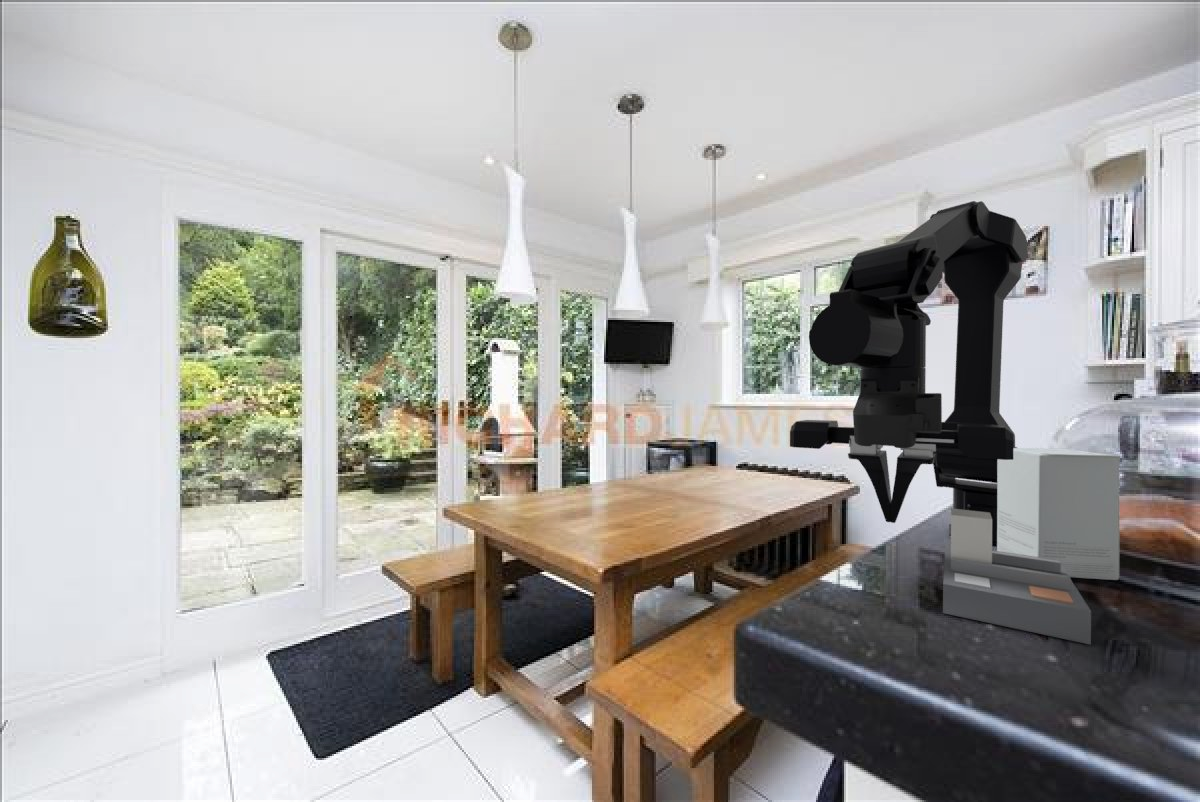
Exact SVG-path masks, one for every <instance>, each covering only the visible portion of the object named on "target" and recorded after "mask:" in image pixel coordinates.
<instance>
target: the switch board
mask: <svg viewBox="0 0 1200 802" xmlns="http://www.w3.org/2000/svg"><path fill="white" fill-rule="evenodd" d="M943 565H944V566H943V580H942V581H943V582H942V583H943V584H942V589H943V590H942V614H946V615H950V616H955V617H960V618H964V619H969V620H974V621H979V622H983V623H989V624H992V625H997V626H1000V627H1001V626H1002V627H1006V628H1007V627H1008V628H1011V629H1015V630H1020V631H1025V632H1030V633H1034V634H1040V635H1044V636H1048V637H1053V638H1058V639H1063V640H1066V641H1072V642H1076V643H1081V644H1082V643H1083V644H1086V645H1090V646H1091V645H1092V610H1091V609H1090V607H1089V605H1088V604H1087V602H1086V601H1085V599H1084V598H1083V596H1082V594H1081V593H1080V591H1079V590H1078V588H1077V587H1076V586H1075V584H1074V583H1073V580H1072V579H1071V578H1072V577H1069V576H1068V574H1067V573H1066V571H1065V569H1064V568H1063V566H1062V565H1061V563H1060V561H1059V560H1056V559H1049V558H1042V557H1035V556H1028V555H1021V554H1014V553H1008V552H1001V551H997V550H993V549H992V564H989V563H983V562H977V561H970V560H964V559H958V558H951V543H945V545H944V564H943Z"/></svg>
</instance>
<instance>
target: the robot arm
mask: <svg viewBox="0 0 1200 802" xmlns="http://www.w3.org/2000/svg"><path fill="white" fill-rule="evenodd" d="M1028 249H1029V246H1028V240H1027V236H1026V234H1025V232H1024V230H1023V229H1022V227H1021V225H1019V223H1018V221H1017V220H1016V219H1015V218H1014V217H1010V216H1007V215H1004V214H1001V213H997V212H994V211H991V210H989V208H988V207H987V206H986V204H985V202H983V201H982V200H981V201H975V200H973V201H969V202H965V203H962V204H958V205H953V206H950V207H947V208H942V209H939V210H937V211H936V213H934V214H933V213H932V214H931V216H930V218H929V219H928V220H927V221H926V220H925V222H924V223H922V224H921V225H920V226H917V228H915V229H914V230H913V231H911V232H910V233H908V234H907V235H905V236H904V237H903V238H901V239H900V240H899V241H896V242H894V243H889V244H887V245H882V246H879V247H875V248H870V249H868V250H864V251H861V252H858V253H857V254H856V255H855V256H854V257H853V259H852V260H851V262H850V266H849V268H848V270H847V272H846V274H845V276H844V279H843V281H842V283H841V285H840V287H839V289H838V291H832V292H830V294H829V305H828V306H826V307H825V308H824V309H822V310H821V311H820V312H819V313H818V314H817V316H816V317H815V319H814V320H813V322H812V325H811V327H810V328H811V329H810V330H809V331H808V332H809V333H808V341H809V342H808V343H809V346H810V349H811V351H812V353H813V354H814V355H815V357H816V358H817V359H818V360H820V361H821V362H823V363H825V364H827V365H832V366H840V367H853V368H854V367H856V368H857V367H858V368H859V369H860V370H859V374H860V375H859V394H858V397H857V400H856V403H855V406H854V408H853V409H852V410H853V411H852V417H853V418H852V419H853V420H852V421H853V426H849V427H848V426H839V423H838V420H829V419H827V420H825V419H823V420H822V419H821V420H820V419H804V420H802V419H801V420H798V421H795V422H794V423H793V424H792V425H791V427H790V431H789V447H791V448H799V449H800V448H801V449H814V450H815V449H816V450H820V449H821V448H822V447H824V446H825V445H832V444H846V445H848V447H849V452H848V453H847V457H848V459H849V460H856V461H858V462H859V463H860V465H861V466H862V467H863V469H864V471H866V474H867V476H868V477H869V479H870V482H871V484H872V486H873V489H874V491H875V494H876V497H877V500H878V502H879V503H878V504H879V505H880V506H879V507H880V509H881V511H882V514H883V516H884V519H885V522H886V523H892V524H895V523H896V522H897V519H898V516H899V513H900V511H901V509H902V506H903V504H904V501H905V498H906V495H907V493H908V491H909V490H908V489H909V488H910V485H911V483H912V481H913V480H914V477H915V475H916V474H917V472H918V470H919V468H920V467H921V466H922V465H932V466H933V471H934V478H935V483H936V487H938V488H949V489H952V509H961V510H970V511H979V512H989V513H990V514H991V517H992V544H996V545H997V459H1000V460H1013V449H1014V448H1018V447H1017V446H1016V434H1015V432H1013V430H1012V428H1011V426H1010V425H1009V424H1008V423H1007V421H1006V420H1005V419H1004V417H1003V416H1002V415H1001V413H1000V403H1001V402H1000V401H1001V400H1000V399H1001V381H1002V380H1001V379H1002V378H1001V377H1002V352H1003V351H1002V347H1003V324H1004V323H1003V321H1004V320H1003V319H1004V300H1005V299H1006V298H1007V296H1009V294H1010V293H1011V291H1012V290H1013V289H1014V287H1015V286H1016V285H1017V284H1018V282H1020V280H1021V277H1022V268H1023V262H1025V261H1027V259H1028V251H1029V250H1028ZM942 279H944V280H943V281H944V283H945V285H946V286H947V287H948V289H949V290H950V291H951V292H952V293H953V295H954V296H955V298H956V299H957V301H958V302H957V303H958V304H957V305H958V307H957V328H956V352H955V354H956V355H955V356H956V357H955V358H956V359H955V376H954V377H955V378H954V381H955V382H954V402H953V403H954V404H953V405H954V406H953V410H952V412H951V413H950V415H949V416H948V417H947V418H946V420H944V421H943V420H942V419H943V417H942V416H943V415H942V413H943V407H942V405H943V402H942V400H943V399H942V393H941V392H938V393H937V392H933V393H932V392H929V393H927V392H926V376H927V375H926V374H927V373H926V372H927V371H926V362H927V361H926V359H927V358H926V356H927V355H926V351H927V346H926V345H927V343H926V342H927V339H926V338H927V337H926V336H927V335H926V334H927V326H930V325H931V318H930V316H929V315H928V313H926V312H925V311H923V310H922V309H921V308H920V306H919V304H922V303H924V302H925V300H927V298H928V297H929V296H931V295H932V294H933V292H934V291H935V289H936V288H937V287H938V286H939V284H940V282H941V280H942ZM885 446H887V447H894V448H897V449H900V451H902V452H900V454H899V455H898V456H897V457H896V469H895V476H894V483H893V490H892V491H891V484H890V475H889V474H890V473H889V463H888V454H887V450H881V449H883V448H884V447H885ZM891 492H892V493H891ZM948 525H949V526H948V528H949V529H948V537H949V536H951V523H950V524H948Z"/></svg>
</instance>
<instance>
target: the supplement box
mask: <svg viewBox="0 0 1200 802" xmlns="http://www.w3.org/2000/svg"><path fill="white" fill-rule="evenodd" d="M996 484H997V544H996V551H1001V552H1008V553H1014V554H1021V555H1028V556H1035V557H1042V558H1049V559H1056V560H1059V561H1060V563H1061V565H1062V566H1063V568H1064V569H1065V571H1066V573H1067V574H1068V576H1069V577H1070V578H1077V579H1096V580H1107V581H1108V580H1109V581H1110V580H1111V581H1118V580H1119V579H1120V456H1119V455H1116V454H1108V453H1099V452H1092V451H1086V450H1078V449H1070V448H1052V447H1051V448H1046V447H1045V448H1044V447H1040V448H1039V447H1038V448H1037V447H1035V448H1034V447H1017V448H1014V449H1013V460H1000V459H997V483H996Z"/></svg>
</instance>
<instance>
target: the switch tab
mask: <svg viewBox="0 0 1200 802" xmlns="http://www.w3.org/2000/svg"><path fill="white" fill-rule="evenodd" d="M950 524H951V537H950V544H951V558H958V559H964V560H970V561H977V562H983V563H989V564H992V550H993V543H992V517H991V514H990V513H989V512H979V511H970V510H961V509H953V507H952V508H950Z"/></svg>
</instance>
